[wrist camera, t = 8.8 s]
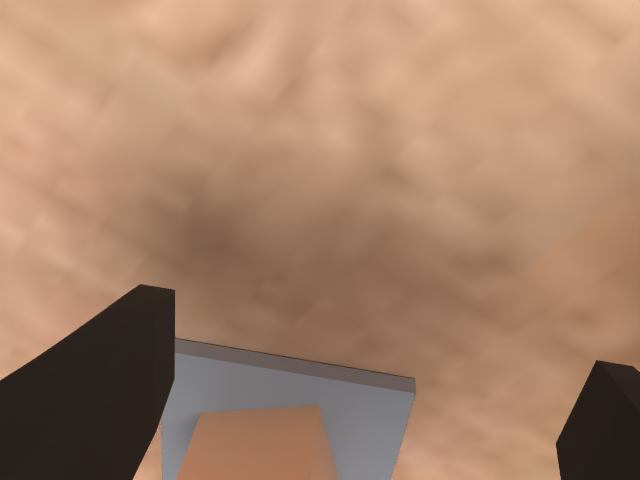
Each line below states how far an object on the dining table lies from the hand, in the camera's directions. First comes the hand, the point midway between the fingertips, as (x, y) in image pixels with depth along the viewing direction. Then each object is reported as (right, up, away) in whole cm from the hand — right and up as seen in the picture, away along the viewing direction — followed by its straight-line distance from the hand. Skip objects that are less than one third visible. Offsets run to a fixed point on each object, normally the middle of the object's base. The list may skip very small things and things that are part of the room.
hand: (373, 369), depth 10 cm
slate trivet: (-3, -7, +16) cm, 17 cm away
